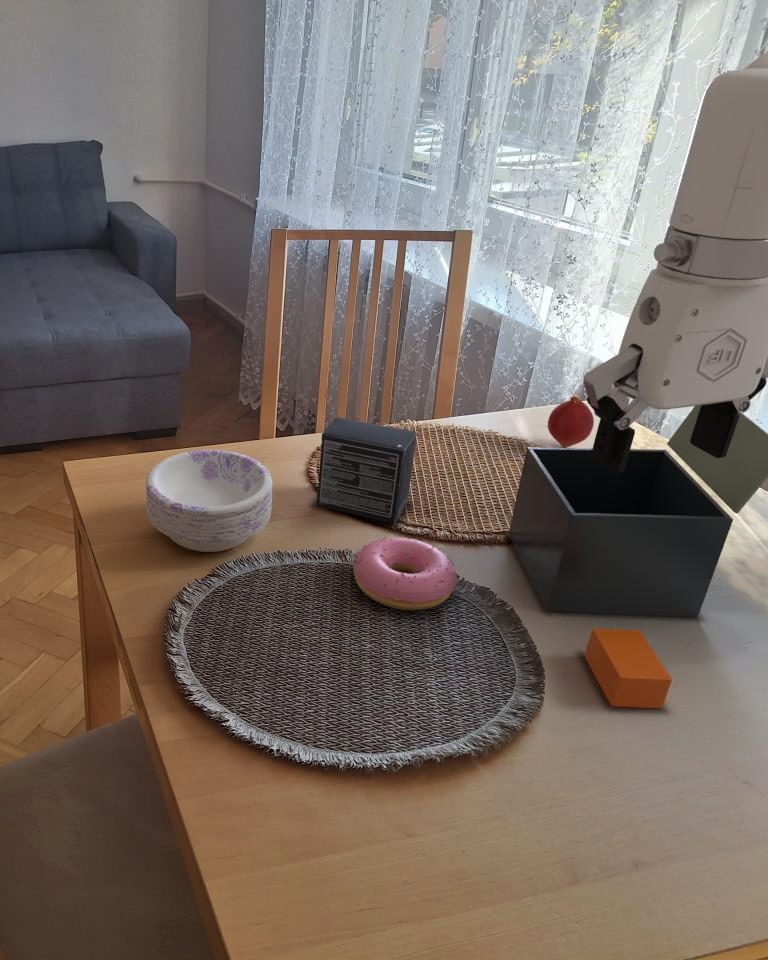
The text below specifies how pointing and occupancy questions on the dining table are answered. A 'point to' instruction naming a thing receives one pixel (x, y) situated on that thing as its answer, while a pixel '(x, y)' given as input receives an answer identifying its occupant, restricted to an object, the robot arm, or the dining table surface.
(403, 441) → the small box
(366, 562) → the doughnut
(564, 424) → the onion
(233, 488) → the paper bowls
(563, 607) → the bin
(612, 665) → the block
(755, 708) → the dining table surface
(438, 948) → the dining table surface
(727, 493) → the flap
